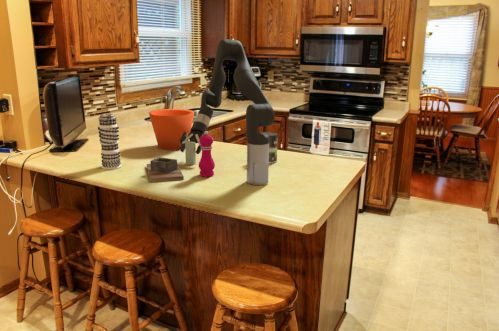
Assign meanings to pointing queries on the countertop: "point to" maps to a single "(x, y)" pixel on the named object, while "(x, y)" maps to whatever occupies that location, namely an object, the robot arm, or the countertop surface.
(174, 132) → the flowerpot
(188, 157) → the slat
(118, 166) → the decorative candle
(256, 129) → the robot arm
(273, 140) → the coffee can
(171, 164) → the brown piece
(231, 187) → the countertop surface
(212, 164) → the pepper mill
